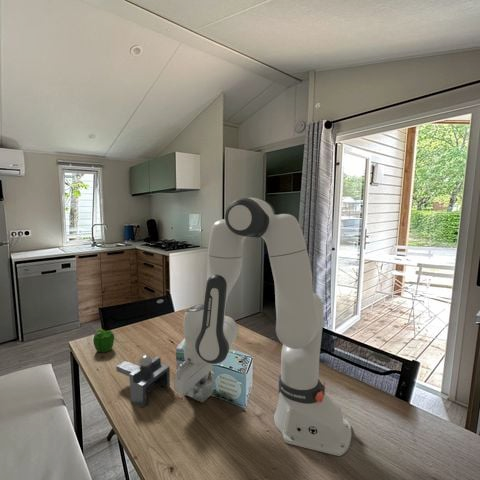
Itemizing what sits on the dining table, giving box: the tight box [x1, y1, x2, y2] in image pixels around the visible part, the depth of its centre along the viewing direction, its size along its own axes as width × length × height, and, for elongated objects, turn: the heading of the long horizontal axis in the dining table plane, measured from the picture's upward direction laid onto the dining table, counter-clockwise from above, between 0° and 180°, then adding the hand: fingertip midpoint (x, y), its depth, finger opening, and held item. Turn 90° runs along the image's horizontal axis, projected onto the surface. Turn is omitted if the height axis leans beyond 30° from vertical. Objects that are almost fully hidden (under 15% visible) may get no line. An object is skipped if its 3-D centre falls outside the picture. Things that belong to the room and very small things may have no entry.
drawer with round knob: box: [115, 354, 171, 408], centre depth 103 cm, size 18×13×13 cm
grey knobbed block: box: [184, 378, 213, 404], centre depth 100 cm, size 8×5×5 cm, turn 58°
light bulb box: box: [175, 337, 185, 370], centre depth 116 cm, size 11×7×11 cm, turn 168°
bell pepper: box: [92, 328, 115, 353], centre depth 130 cm, size 8×8×10 cm
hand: (198, 390), depth 100 cm, fingers closed on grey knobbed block, 5 cm apart
